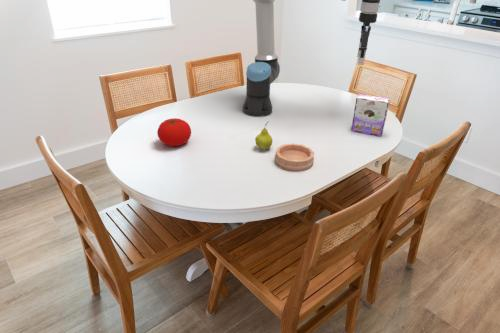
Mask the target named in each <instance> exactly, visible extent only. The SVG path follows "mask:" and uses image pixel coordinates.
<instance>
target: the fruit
mask: <svg viewBox="0 0 500 333" xmlns="http://www.w3.org/2000/svg"><path fill="white" fill-rule="evenodd" d="M268 124H269V121H267V122H266V123H265V125H264V128H263V129H261V131H260V133H259V134H257V135H256V137H255V144H256V147H257V148H259V149H260V150H267V149H270V148H271V147H272V145H273V138H272V136H271V135H270V134H269V132H268V128H266V126H267V125H268Z"/></svg>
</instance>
